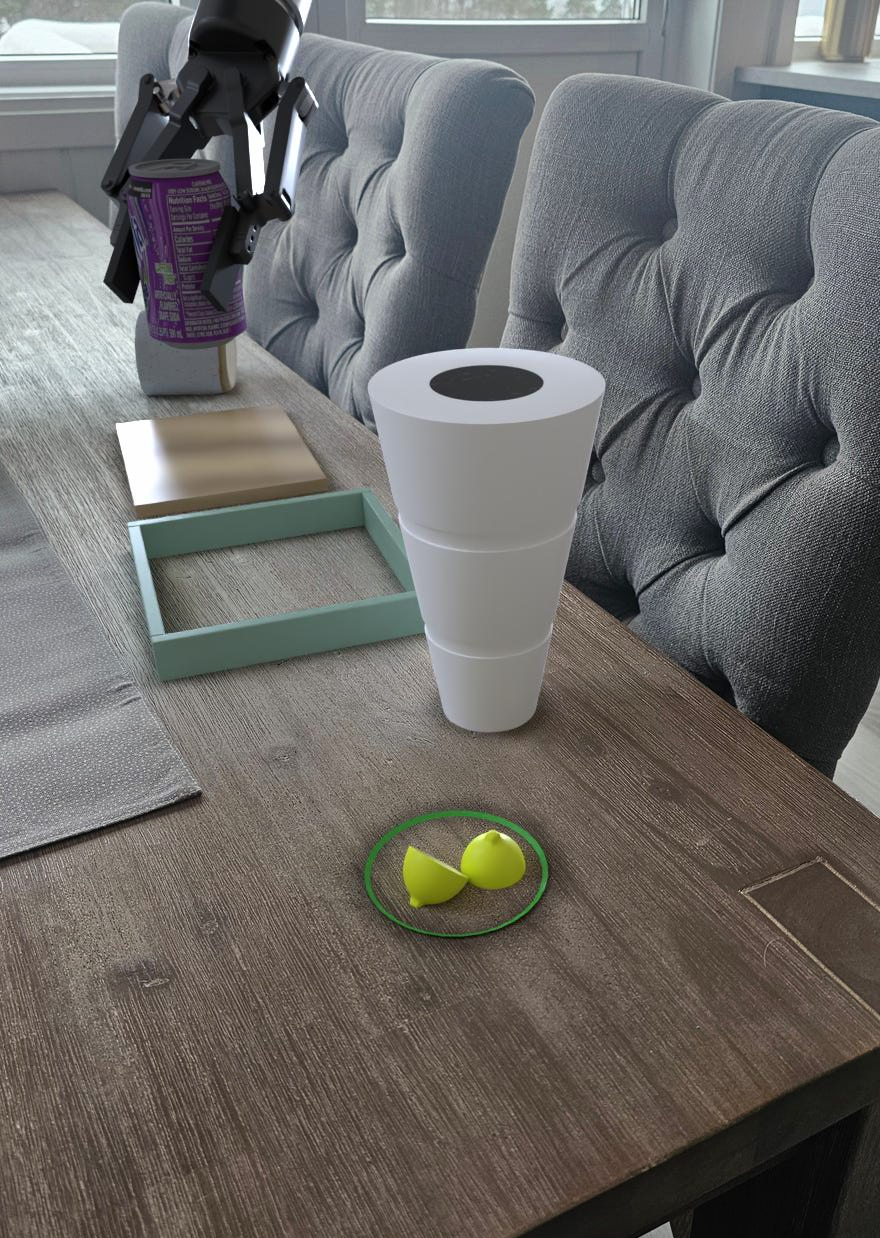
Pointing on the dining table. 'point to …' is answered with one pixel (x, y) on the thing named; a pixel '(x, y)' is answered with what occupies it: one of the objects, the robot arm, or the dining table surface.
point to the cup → (487, 511)
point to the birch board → (216, 460)
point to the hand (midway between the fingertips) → (165, 296)
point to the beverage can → (181, 250)
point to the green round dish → (482, 865)
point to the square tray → (281, 631)
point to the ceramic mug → (182, 366)
